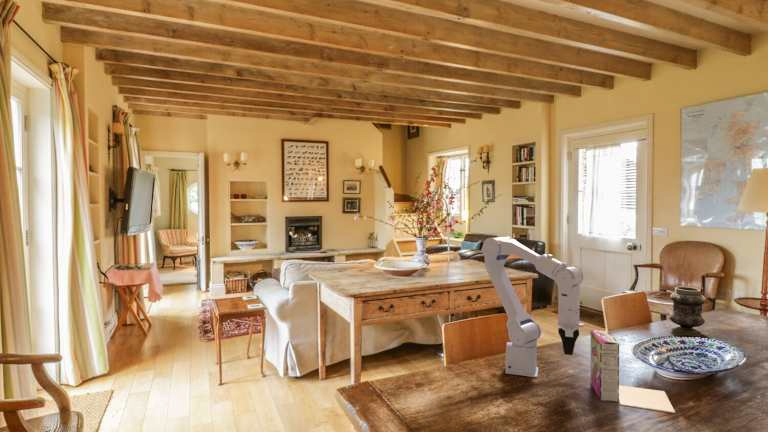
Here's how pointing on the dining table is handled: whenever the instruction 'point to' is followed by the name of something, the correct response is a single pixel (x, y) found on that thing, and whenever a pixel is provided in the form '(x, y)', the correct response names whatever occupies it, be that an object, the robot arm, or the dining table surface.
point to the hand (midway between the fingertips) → (568, 354)
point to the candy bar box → (605, 365)
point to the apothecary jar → (687, 310)
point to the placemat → (644, 399)
